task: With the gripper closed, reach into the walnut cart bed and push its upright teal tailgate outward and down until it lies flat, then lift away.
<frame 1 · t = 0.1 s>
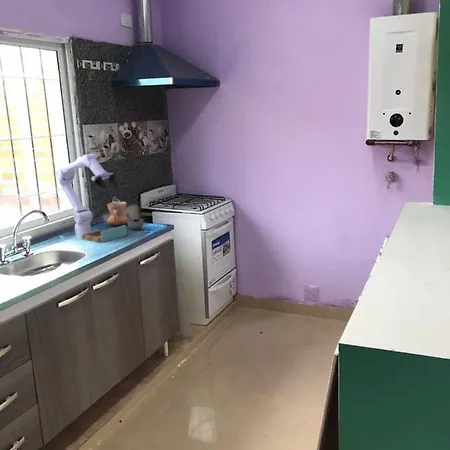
hand: (111, 187, 293), 32 cm above the countertop, tool tilted 50°, fingers open, 7 cm apart
cart bed: (105, 239, 310), on the countertop
ceramic jug: (118, 225, 347), on the countertop
tailgate: (114, 233, 304), point 5 cm above the countertop, hinge at 0.0°
mortar and pestle: (134, 231, 326), on the countertop
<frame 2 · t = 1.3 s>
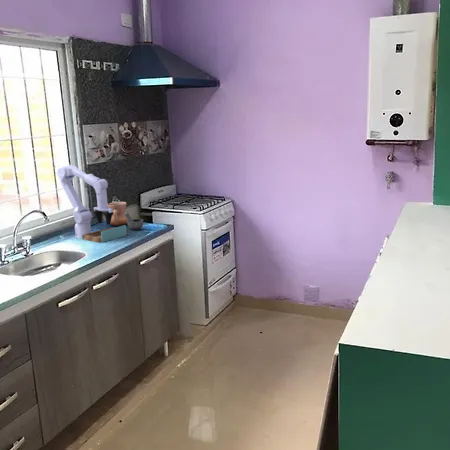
hand: (104, 223, 308), 9 cm above the countertop, tool pointing down, fingers open, 7 cm apart
nothing on the countertop moved.
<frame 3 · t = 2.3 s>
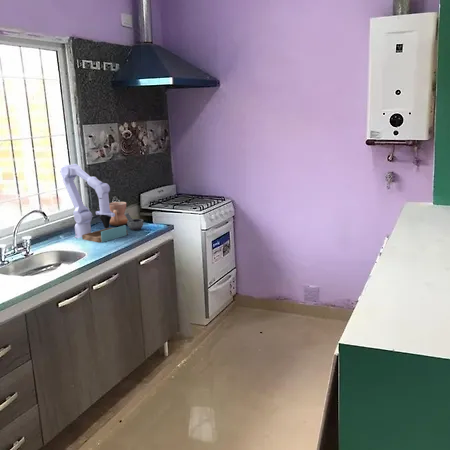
hand: (106, 227, 307), 7 cm above the countertop, tool pointing down, fingers closed
nothing on the countertop moved.
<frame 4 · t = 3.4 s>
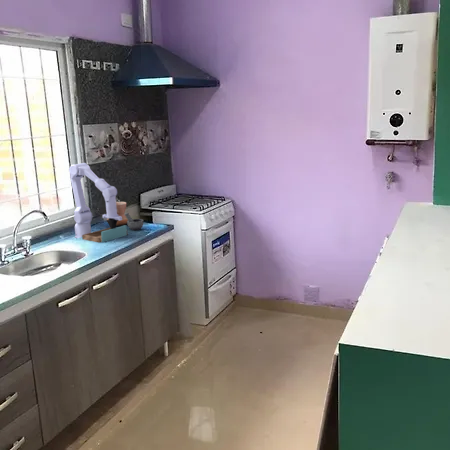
hand: (113, 231, 304), 6 cm above the countertop, tool pointing down, fingers closed, pressing on tailgate
tailgate: (114, 233, 304), point 4 cm above the countertop, hinge at 4.5°, touching gripper
everything else where it was.
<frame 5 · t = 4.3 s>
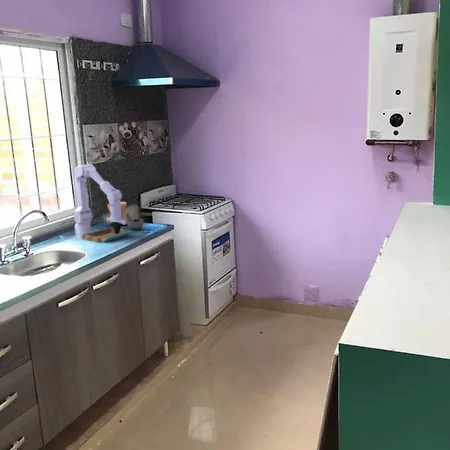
hand: (117, 235, 303), 4 cm above the countertop, tool pointing down, fingers closed, pressing on tailgate
tailgate: (116, 236, 303), point 3 cm above the countertop, hinge at 53.0°, touching gripper
everything else where it was.
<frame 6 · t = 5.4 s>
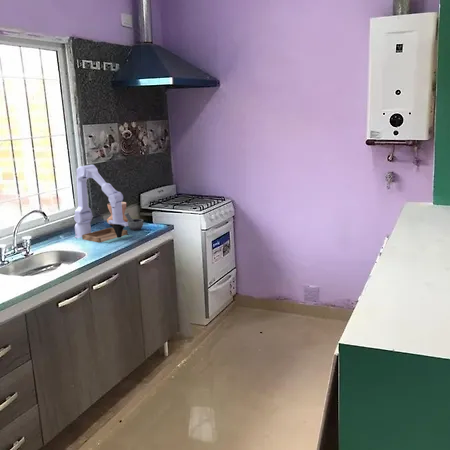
hand: (119, 237, 302), 3 cm above the countertop, tool pointing down, fingers closed
tailgate: (117, 239, 303), point 1 cm above the countertop, hinge at 83.1°
everything else where it was.
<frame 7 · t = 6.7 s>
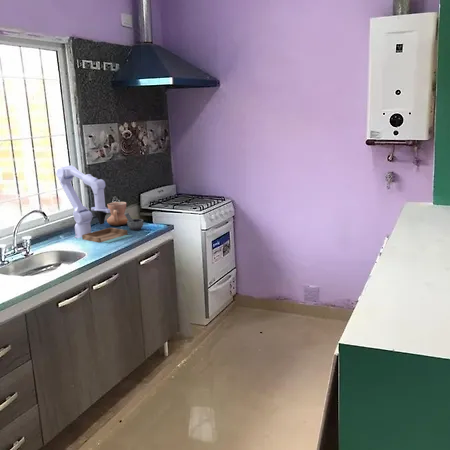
hand: (101, 223, 308), 9 cm above the countertop, tool pointing down, fingers closed
nothing on the countertop moved.
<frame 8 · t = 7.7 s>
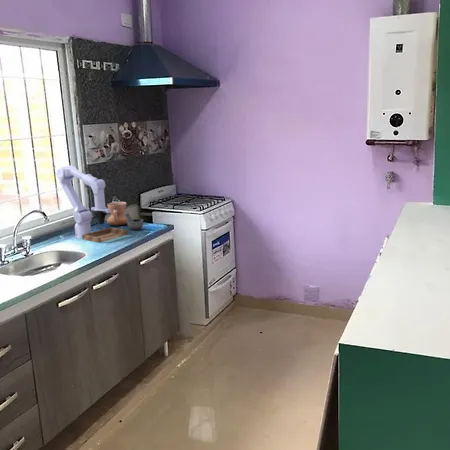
hand: (101, 223, 308), 9 cm above the countertop, tool pointing down, fingers closed
nothing on the countertop moved.
at the end: tailgate at +83° (first picture: +0°); mortar and pestle moved 0.2 cm from its start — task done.
